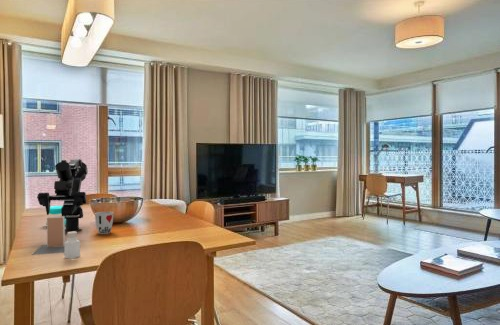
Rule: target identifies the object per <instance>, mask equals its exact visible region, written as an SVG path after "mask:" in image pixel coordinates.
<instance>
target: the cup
mask: <svg viewBox="0 0 500 325" xmlns="http://www.w3.org/2000/svg"><path fill="white" fill-rule="evenodd" d="M94 217H95V218H94V219H95V226H96V229H97V234H100V235H107V234H110V233H111V231H112V228H113V223H114V211H97V212H95V213H94Z"/></svg>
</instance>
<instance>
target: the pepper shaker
mask: <svg viewBox="0 0 500 325" xmlns="http://www.w3.org/2000/svg"><path fill="white" fill-rule="evenodd" d="M66 233H67V235H66V236H67V237H66V238H67V240H65V243H64V249H65V253H64V258H65V259H69V260H74V259H77V258H79V257H81V241H80V240H78V232H77V231H72V232H66Z"/></svg>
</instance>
